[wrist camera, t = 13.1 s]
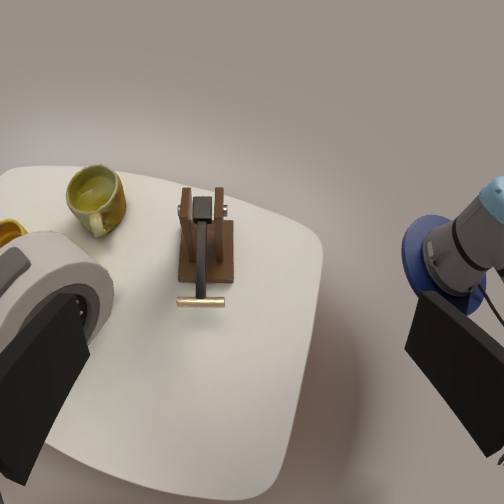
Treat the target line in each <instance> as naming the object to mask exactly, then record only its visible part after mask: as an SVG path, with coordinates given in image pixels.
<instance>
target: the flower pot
mask: <svg viewBox="0 0 504 504" xmlns="http://www.w3.org/2000/svg"><path fill="white" fill-rule="evenodd" d="M26 234H28V232H27V231H26V230H25V229H24V227H23V226H22V225H21V224H20V223H19V222H18V221H16V220H13V219H6V220H3V221H1V222H0V248H2V247H3V246H5V245H6V244H8V243H9V242H10V241H12V240H13V239H15V238H18V237H20V236H23V235H26Z"/></svg>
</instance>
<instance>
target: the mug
mask: <svg viewBox="0 0 504 504" xmlns="http://www.w3.org/2000/svg"><path fill="white" fill-rule="evenodd" d="M66 200H67V204H68V206H69V208H70V210H71V211H72V213H73V214H74V215H75V216H76V217H77V218H78V219H79V220H80V221H81V223H82V225H83V226H84V227H85V228H86V229H87V230H89V231H91V232H93V235H94V237H95V238H96V237H100V236H103V235H106V233H107V232H109V231H111V230H112V229H113V228H114V227H115V226H116V225H117V224H118V223H119V222H120V221H121V220H122V219H123V217H124V215H125V211H126V201H125V196H124V191H123V186H122V183H121V180H120V178H119V176H118V175H117V173H116V172H115V171H114V170H112V169H110V168H109V167H108V166H105V165H102V164H99V165H91V166H89V167H85V168H83V169H82V170H81V171H79V172H78V173H76V174H75V176H74V177H73V178H72V179H71V181H70V183H69V185H68V188H67V192H66Z"/></svg>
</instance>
